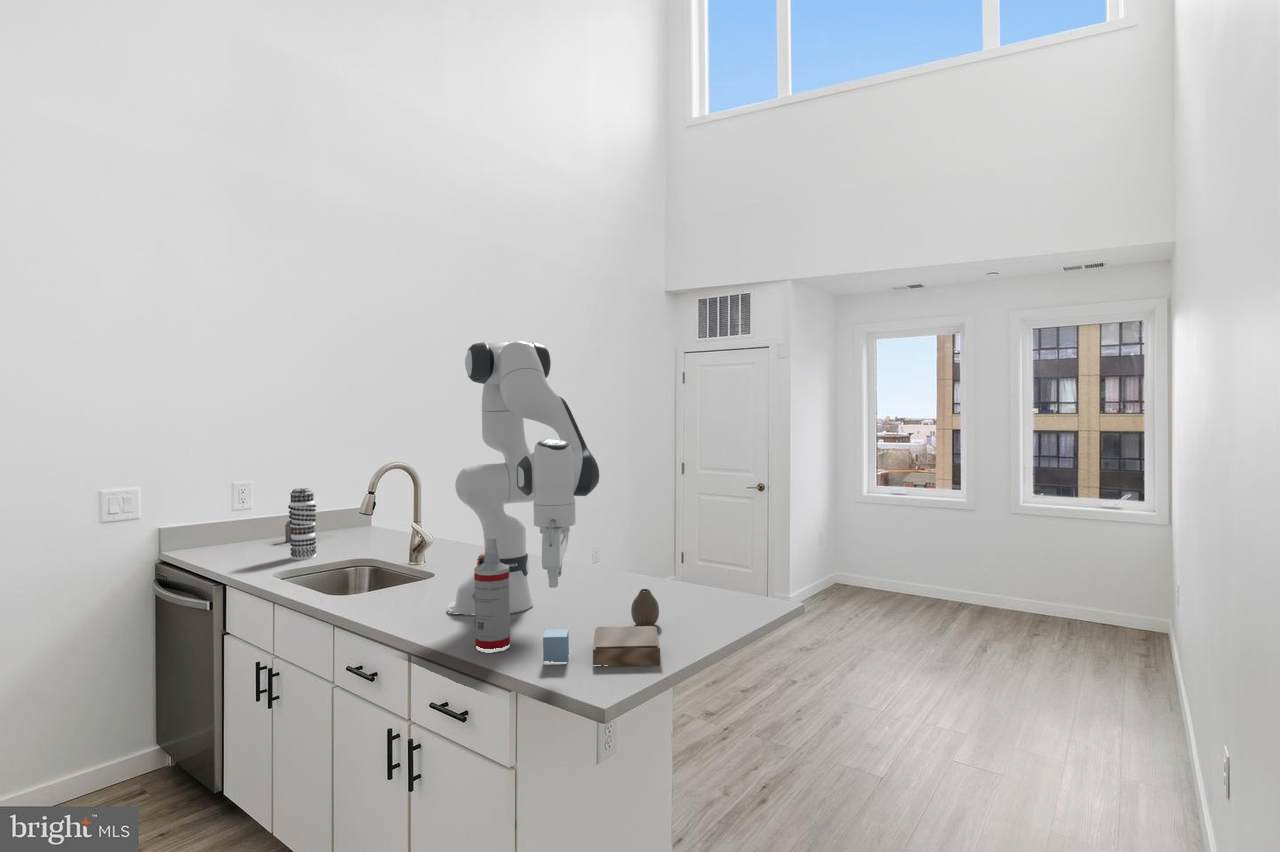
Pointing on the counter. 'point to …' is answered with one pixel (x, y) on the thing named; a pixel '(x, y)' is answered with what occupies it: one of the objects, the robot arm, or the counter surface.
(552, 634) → the slate block
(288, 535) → the architectural model on board
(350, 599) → the counter surface
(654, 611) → the vase
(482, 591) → the nozzle bottle
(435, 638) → the counter surface
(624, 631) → the walnut plinth
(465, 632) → the counter surface
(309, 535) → the decorative candle
